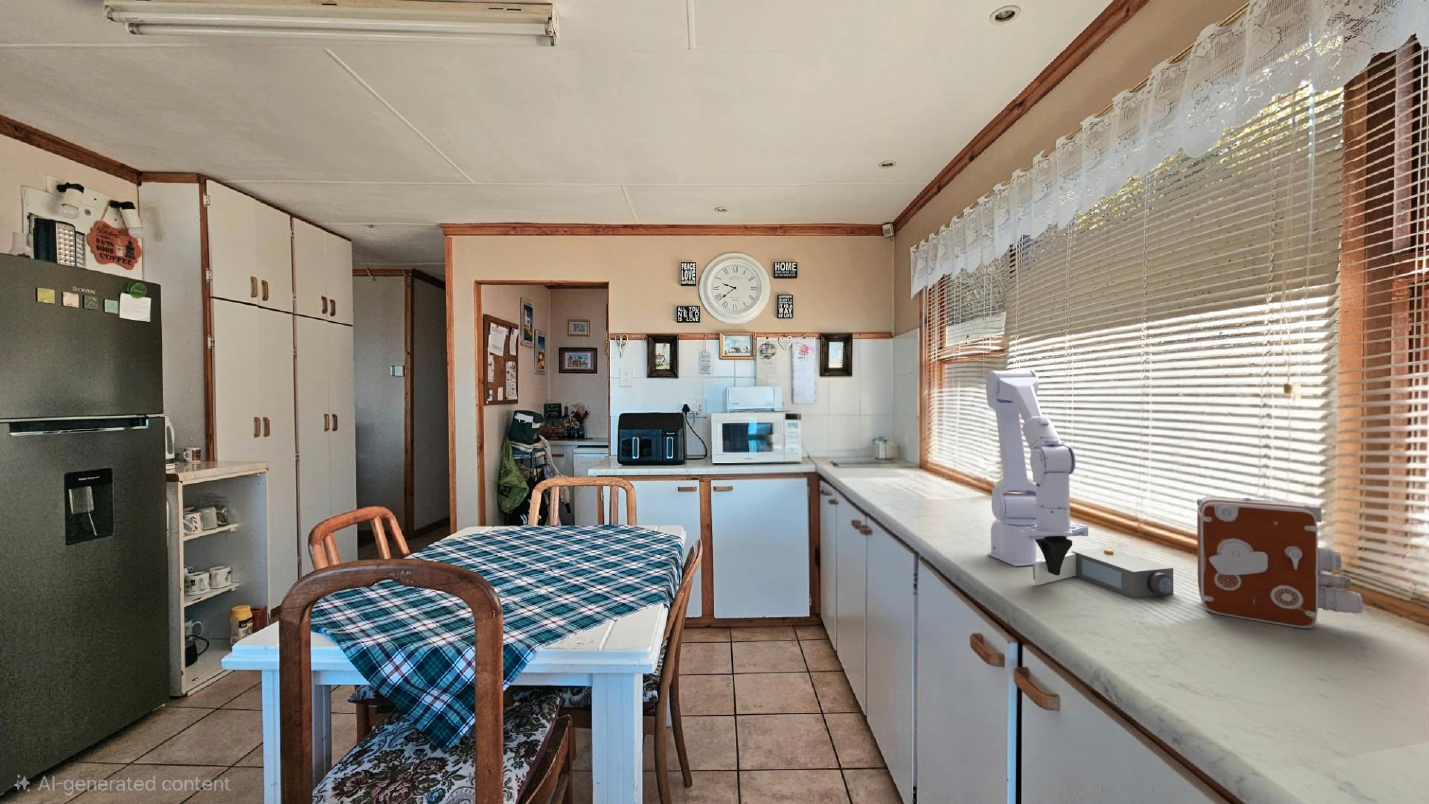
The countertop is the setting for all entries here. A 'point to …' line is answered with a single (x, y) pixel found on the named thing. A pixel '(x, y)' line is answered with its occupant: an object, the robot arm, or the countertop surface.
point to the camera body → (1124, 572)
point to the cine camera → (1267, 562)
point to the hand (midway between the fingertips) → (1053, 573)
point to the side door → (1044, 576)
